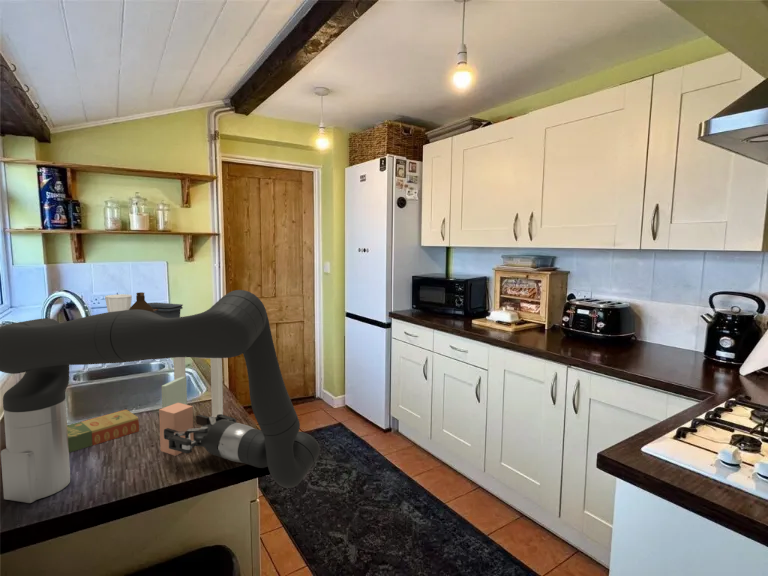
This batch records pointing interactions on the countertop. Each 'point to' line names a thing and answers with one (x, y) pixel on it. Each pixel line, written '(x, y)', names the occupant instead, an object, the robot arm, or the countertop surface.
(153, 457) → the countertop surface
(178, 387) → the door
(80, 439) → the carton
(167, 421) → the block
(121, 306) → the cup
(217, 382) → the door frame
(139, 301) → the olive oil
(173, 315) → the storage bin
